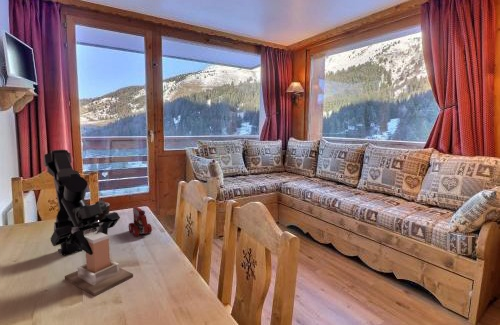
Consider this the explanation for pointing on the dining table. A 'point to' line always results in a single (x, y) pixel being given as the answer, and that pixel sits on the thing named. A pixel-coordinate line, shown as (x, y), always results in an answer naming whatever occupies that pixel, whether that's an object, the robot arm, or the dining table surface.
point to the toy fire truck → (139, 223)
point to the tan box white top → (98, 252)
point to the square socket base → (98, 278)
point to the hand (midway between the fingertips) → (99, 251)
